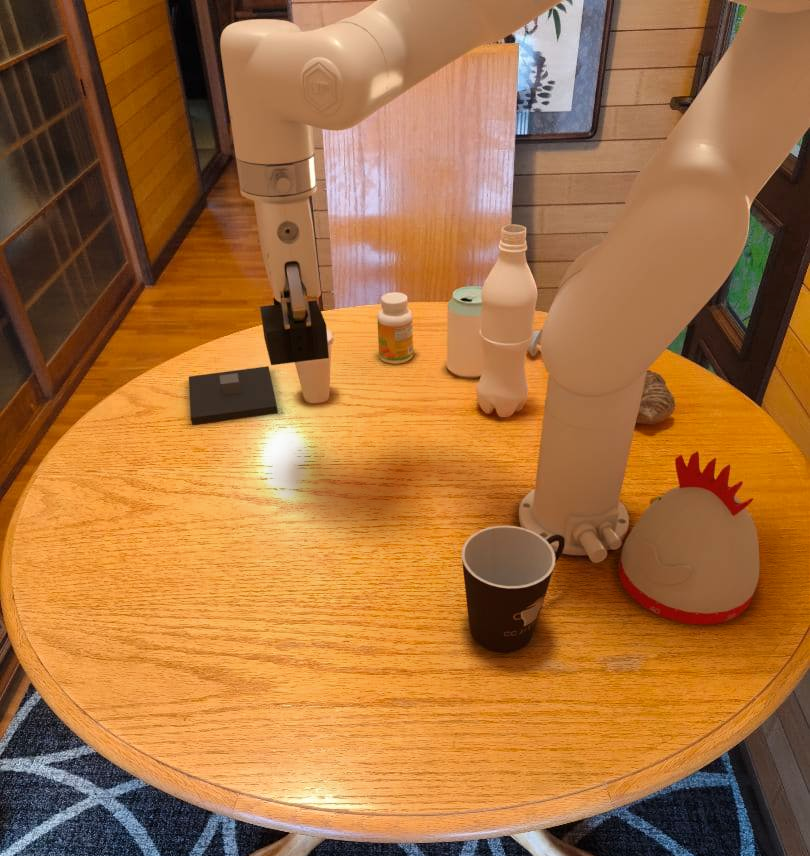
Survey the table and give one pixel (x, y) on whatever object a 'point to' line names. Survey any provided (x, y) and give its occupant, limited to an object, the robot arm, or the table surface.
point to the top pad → (274, 336)
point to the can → (465, 332)
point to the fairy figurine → (535, 343)
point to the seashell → (655, 400)
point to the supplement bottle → (395, 329)
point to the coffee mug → (506, 584)
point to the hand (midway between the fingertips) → (295, 343)
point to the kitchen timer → (693, 549)
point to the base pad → (231, 395)
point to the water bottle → (507, 326)
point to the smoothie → (316, 376)
